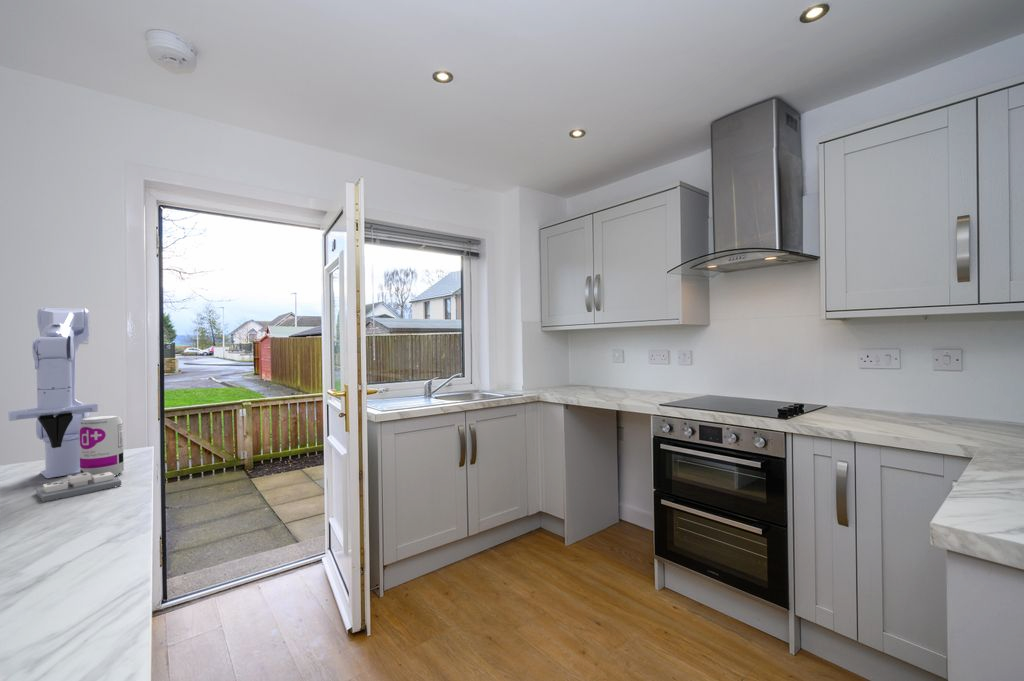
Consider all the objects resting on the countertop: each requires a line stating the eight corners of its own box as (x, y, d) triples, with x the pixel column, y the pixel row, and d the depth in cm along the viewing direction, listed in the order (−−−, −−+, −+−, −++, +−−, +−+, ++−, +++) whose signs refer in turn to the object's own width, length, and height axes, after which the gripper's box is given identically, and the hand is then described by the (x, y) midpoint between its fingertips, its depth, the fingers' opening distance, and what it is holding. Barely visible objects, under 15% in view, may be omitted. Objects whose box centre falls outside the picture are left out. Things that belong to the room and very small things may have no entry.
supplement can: (103, 481, 112) (102, 420, 112) (70, 481, 113) (69, 420, 112) (132, 471, 121) (130, 414, 120) (101, 471, 121) (99, 414, 121)
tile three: (43, 495, 103) (42, 483, 103) (64, 490, 105) (64, 479, 105) (46, 498, 101) (45, 486, 101) (68, 493, 103) (67, 482, 103)
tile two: (67, 485, 106) (67, 475, 106) (87, 482, 109) (87, 471, 109) (70, 488, 104) (70, 477, 104) (91, 484, 107) (91, 473, 107)
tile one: (90, 485, 109) (90, 474, 109) (110, 481, 112) (109, 471, 112) (94, 488, 107) (94, 477, 107) (113, 484, 110) (113, 473, 110)
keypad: (36, 493, 104) (36, 488, 104) (110, 478, 114) (110, 474, 114) (43, 502, 98) (43, 496, 98) (121, 485, 109) (121, 480, 109)
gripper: (11, 393, 98) (12, 456, 98) (100, 386, 110) (101, 443, 110) (6, 390, 102) (8, 451, 102) (93, 384, 114) (94, 439, 114)
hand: (56, 447), depth 106 cm, fingers closed
